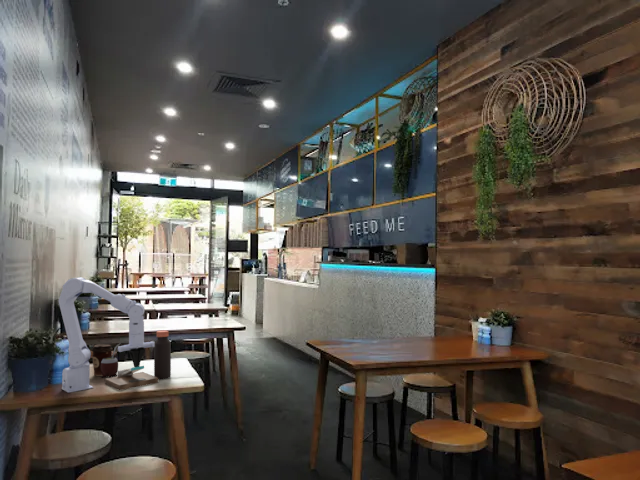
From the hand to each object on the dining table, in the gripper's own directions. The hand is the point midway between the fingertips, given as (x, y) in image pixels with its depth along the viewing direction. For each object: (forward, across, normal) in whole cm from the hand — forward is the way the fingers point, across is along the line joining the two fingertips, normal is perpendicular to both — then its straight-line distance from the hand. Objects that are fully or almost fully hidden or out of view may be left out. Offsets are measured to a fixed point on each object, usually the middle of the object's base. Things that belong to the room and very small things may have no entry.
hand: (136, 366), depth 198 cm
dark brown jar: (+7, -4, +28) cm, 29 cm away
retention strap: (+3, 0, +4) cm, 5 cm away
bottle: (+8, +13, +4) cm, 16 cm away
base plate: (+7, 0, +4) cm, 9 cm away
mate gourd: (+8, -2, +22) cm, 23 cm away
